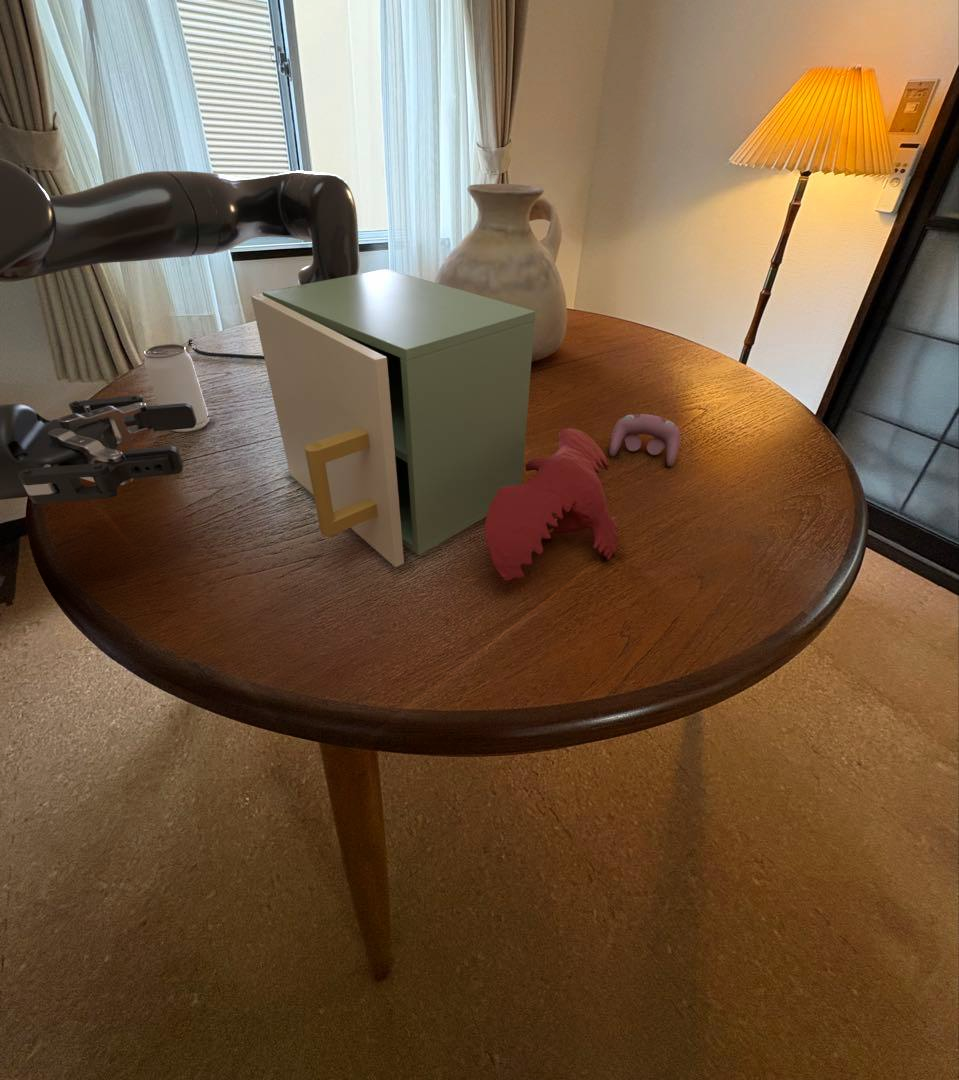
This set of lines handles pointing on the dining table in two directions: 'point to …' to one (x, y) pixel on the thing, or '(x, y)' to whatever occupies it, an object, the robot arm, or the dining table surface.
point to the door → (334, 424)
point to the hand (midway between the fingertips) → (187, 435)
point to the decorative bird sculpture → (551, 505)
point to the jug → (513, 259)
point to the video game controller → (648, 425)
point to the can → (175, 380)
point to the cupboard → (437, 388)
